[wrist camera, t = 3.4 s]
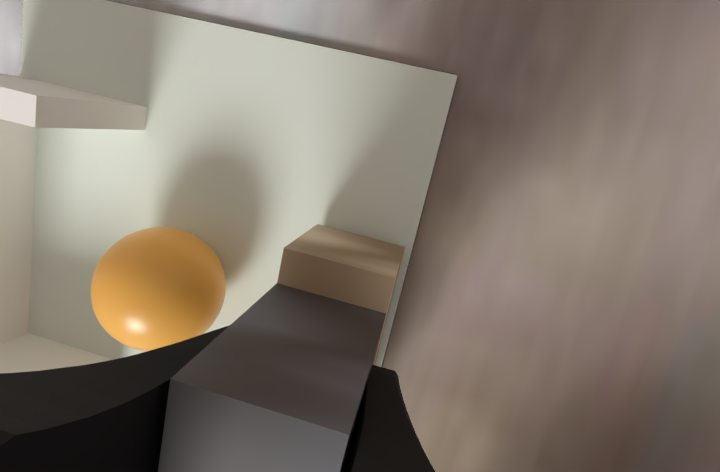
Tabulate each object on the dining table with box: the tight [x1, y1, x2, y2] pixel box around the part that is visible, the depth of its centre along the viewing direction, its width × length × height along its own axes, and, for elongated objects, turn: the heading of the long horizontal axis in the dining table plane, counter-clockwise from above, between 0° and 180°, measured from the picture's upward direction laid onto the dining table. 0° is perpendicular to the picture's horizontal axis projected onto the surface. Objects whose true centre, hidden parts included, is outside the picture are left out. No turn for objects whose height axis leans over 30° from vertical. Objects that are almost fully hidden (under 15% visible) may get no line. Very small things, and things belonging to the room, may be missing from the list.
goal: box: [0, 73, 147, 373], centre depth 15 cm, size 5×11×4 cm, turn 167°
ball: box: [91, 227, 226, 351], centre depth 15 cm, size 4×4×4 cm
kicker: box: [158, 224, 405, 472], centre depth 12 cm, size 3×11×8 cm, turn 167°
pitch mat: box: [20, 0, 458, 367], centre depth 17 cm, size 15×19×1 cm
